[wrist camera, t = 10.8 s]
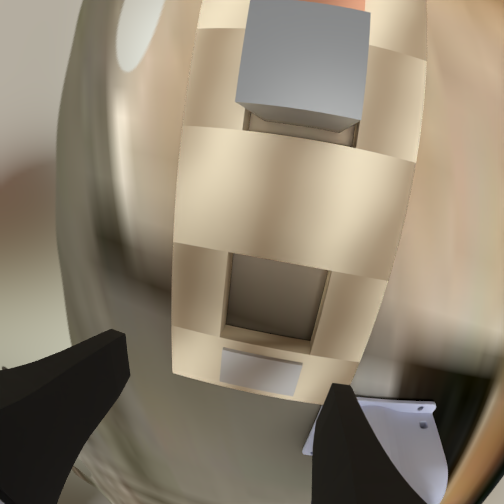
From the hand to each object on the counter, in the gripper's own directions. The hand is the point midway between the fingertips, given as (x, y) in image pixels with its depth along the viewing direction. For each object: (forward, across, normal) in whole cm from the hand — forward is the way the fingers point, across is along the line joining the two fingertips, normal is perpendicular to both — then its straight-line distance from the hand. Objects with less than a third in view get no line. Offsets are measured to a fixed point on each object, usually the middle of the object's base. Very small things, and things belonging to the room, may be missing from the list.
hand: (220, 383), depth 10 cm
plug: (+9, -1, -11) cm, 14 cm away
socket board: (+9, -1, -5) cm, 11 cm away
